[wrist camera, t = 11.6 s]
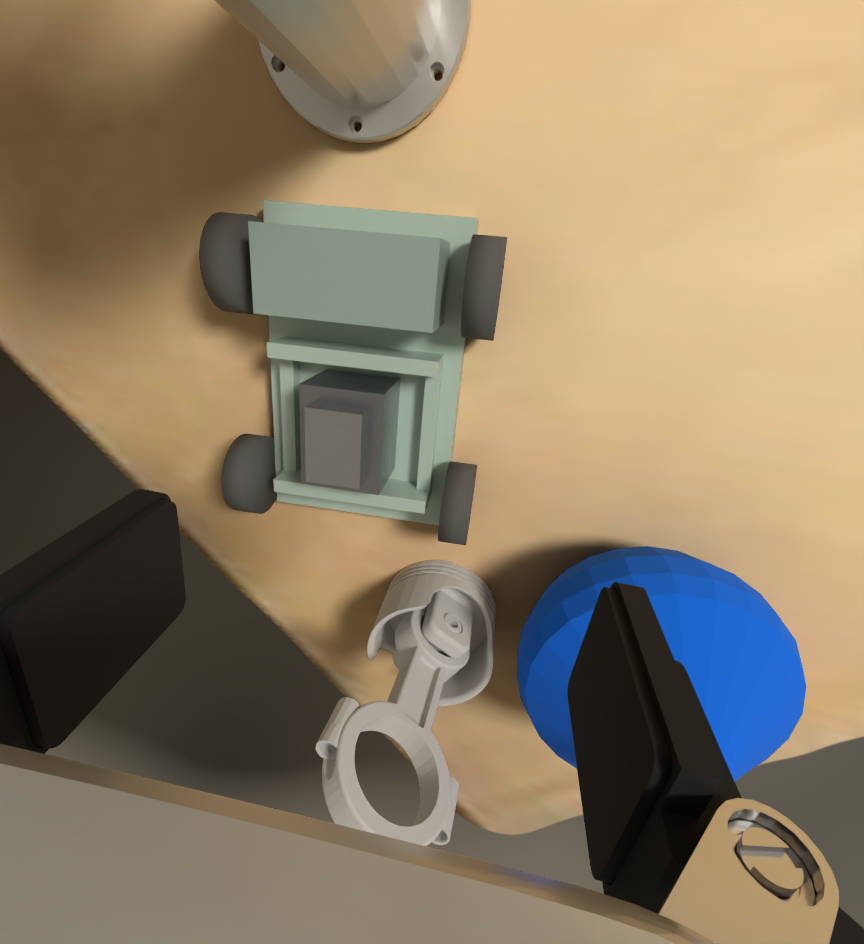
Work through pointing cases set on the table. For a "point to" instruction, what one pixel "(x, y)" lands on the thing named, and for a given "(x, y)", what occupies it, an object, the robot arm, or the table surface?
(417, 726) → the engine component
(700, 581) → the vase
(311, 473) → the block
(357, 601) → the table surface
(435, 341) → the chassis
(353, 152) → the table surface
